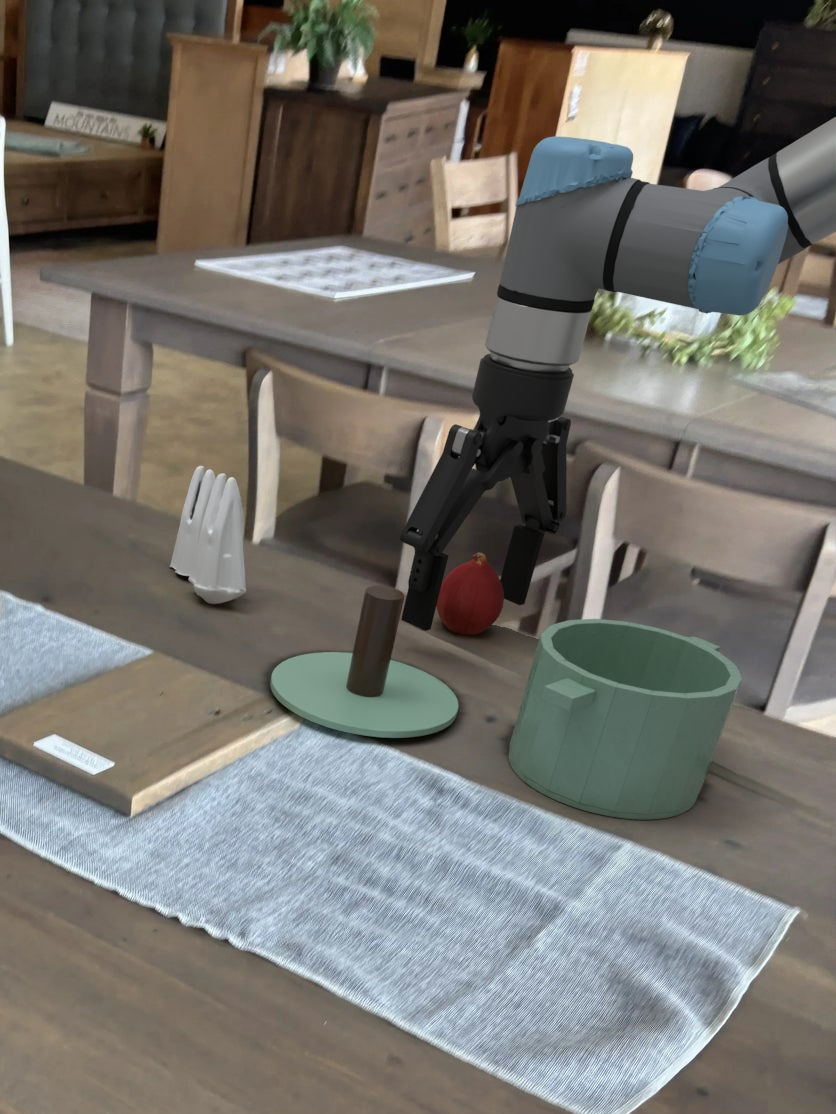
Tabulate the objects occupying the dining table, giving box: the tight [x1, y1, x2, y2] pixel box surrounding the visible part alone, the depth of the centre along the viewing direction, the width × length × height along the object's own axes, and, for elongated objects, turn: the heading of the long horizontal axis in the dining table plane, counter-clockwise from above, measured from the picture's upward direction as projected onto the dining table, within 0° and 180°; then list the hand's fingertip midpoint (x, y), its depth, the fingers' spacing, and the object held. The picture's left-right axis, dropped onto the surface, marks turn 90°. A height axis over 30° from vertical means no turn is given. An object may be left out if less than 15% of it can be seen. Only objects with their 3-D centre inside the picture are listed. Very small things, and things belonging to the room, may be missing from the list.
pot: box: [508, 618, 743, 821], centre depth 104 cm, size 14×19×10 cm
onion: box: [436, 552, 505, 636], centre depth 125 cm, size 6×6×8 cm
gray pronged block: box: [169, 465, 247, 605], centre depth 128 cm, size 12×4×11 cm, turn 12°
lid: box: [269, 585, 460, 739], centre depth 111 cm, size 15×15×9 cm
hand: (464, 612), depth 126 cm, fingers open, 13 cm apart
